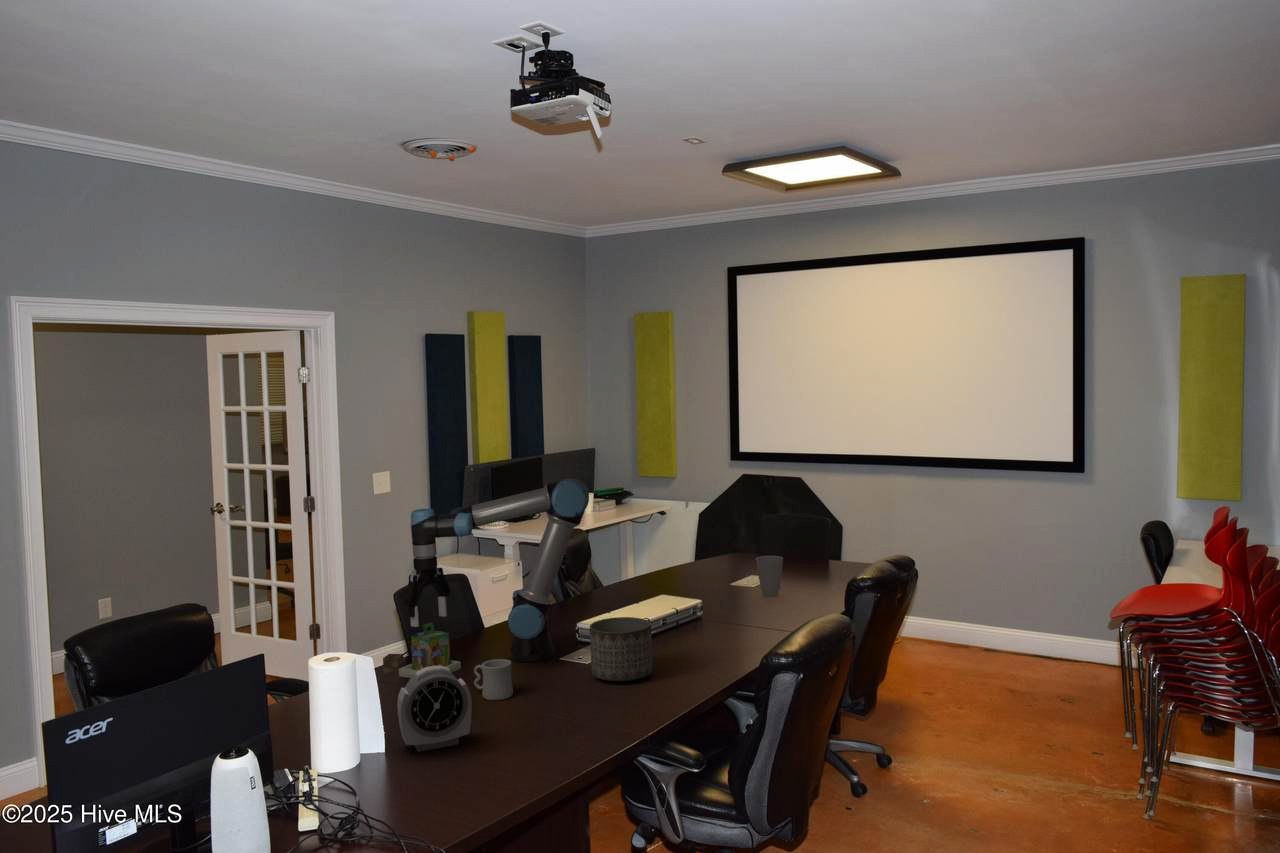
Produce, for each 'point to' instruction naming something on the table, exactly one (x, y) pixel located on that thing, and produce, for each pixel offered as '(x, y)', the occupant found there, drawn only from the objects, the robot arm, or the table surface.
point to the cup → (769, 574)
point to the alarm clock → (434, 709)
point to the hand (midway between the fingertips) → (429, 621)
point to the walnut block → (393, 663)
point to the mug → (495, 679)
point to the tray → (409, 672)
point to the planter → (621, 649)
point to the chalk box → (430, 648)
